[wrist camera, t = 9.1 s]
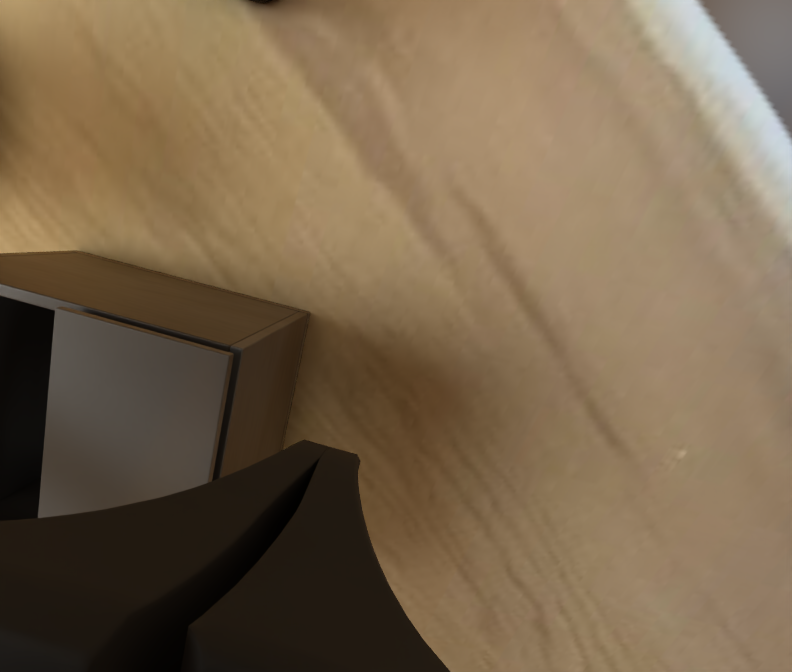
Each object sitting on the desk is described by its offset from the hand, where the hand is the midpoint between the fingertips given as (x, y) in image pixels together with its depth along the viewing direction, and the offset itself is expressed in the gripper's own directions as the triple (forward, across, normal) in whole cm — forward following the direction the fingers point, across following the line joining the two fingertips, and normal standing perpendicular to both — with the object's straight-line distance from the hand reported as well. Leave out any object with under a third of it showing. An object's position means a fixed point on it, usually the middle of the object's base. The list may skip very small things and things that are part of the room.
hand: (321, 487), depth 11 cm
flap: (+3, +6, +4) cm, 8 cm away
